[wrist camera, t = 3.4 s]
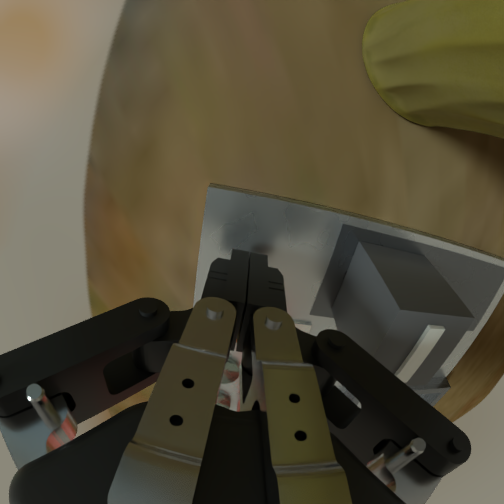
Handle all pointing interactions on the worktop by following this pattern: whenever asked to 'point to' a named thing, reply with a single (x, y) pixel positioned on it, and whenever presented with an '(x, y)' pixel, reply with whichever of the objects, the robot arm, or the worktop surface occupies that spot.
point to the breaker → (400, 311)
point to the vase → (440, 62)
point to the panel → (333, 266)
